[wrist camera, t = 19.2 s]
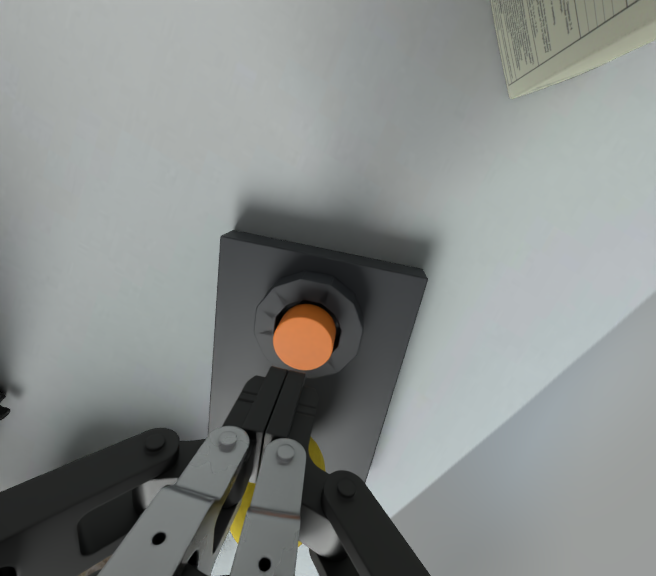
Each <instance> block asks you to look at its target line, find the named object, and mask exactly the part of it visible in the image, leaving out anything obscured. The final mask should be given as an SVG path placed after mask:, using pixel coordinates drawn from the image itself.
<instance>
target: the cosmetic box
mask: <svg viewBox="0 0 656 576" xmlns="http://www.w3.org/2000/svg"><path fill="white" fill-rule="evenodd" d="M491 6H492V12H493V18H494V24H495V29H496V34H497V40H498V45H499V51H500V56H501V61H502V66H503V71H504V75H505V80H506V85H507V89H508V94H509V97H510V98H511V99H514V98H517V97H520V96H523V95H526V94H529V93H532V92H535V91H538V90H541V89H543V88H546V87H549V86H552V85H554V84H557V83H560V82H562V81H565V80H568V79H570V78H573V77H575V76H578V75H580V74H583V73H585V72H587V71H590V70H592V69H594V68H597V67H599V66H601V65H603V64H605V63H607V62H610V61H612V60H614V59H616V58H618V57H620V56H622V55H624V54H626V53H629V52H631V51H633V50H635V49H637V48H639V47H641V46H644V45H646V44H648V43H650V42H652V41H654V40H656V0H491Z"/></svg>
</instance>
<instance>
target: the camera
mask: <svg viewBox="0 0 656 576" xmlns="http://www.w3.org/2000/svg"><path fill="white" fill-rule="evenodd" d="M5 397H6V396H5V394H4V393H3V392H1V391H0V402H1V401H2V400H3V399H4V398H5ZM10 411H11V410H10V409H9V408H7V407H2V406H1V405H0V420H2V419H4V418H5V417H6V416H7V415H8V414H9V413H10Z"/></svg>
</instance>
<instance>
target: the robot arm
mask: <svg viewBox="0 0 656 576" xmlns="http://www.w3.org/2000/svg"><path fill="white" fill-rule="evenodd" d="M305 377H306V373H301V372H297V371H292V370H289V371H288V370H287V369H283V368H278V367H274V366H271V367H270V369H269V371H268V373H267V375H266V377H261V376H257V375H255V376H254V377H253V378H251V379H250V380H248V381H247V382H246V384H245V386H244V387H243V389H242V392H241V393H240V395H239V397H238V399H237V400H236V402H235V404H234V406H233V407H232V409H231V411H230V413H229V415H228V416H227V418H226V420H225V422H224V424H223V425H222V427H219V428H217V429H215V430H214V431H212V432H211V433H210V434H209V435H208V437H207V438H205V439H202V440H195V441H180V440H179V436H178V435H177V433H176V432H174V431H173V430H171V429H167V428H155V429H151V430H148V431H145V432H143V433H141V434H138V435H136V436H134V437H131V438H129V439H126V440H124V441H122V442H119V443H117V444H114V445H112V446H110V447H107V448H105V449H102V450H100V451H98V452H95V453H93V454H90V455H88V456H86V457H83V458H81V459H79V460H76V461H74V462H71V463H69V464H67V465H64V466H62V467H59V468H57V469H55V470H52V471H50V472H47V473H45V474H43V475H40V476H38V477H35V478H33V479H31V480H28V481H26V482H23V483H21V484H19V485H16V486H14V487H12V488H9V489H7V490H4V491H2V492H0V576H78V575H80V574H81V573H83V572H84V571H86V570H88V569H89V568H91V567H92V566H94V565H96V564H97V563H99V562H101V561H102V560H104V559H105V558H107V557H109V556H110V555H112V554H113V555H112V556H111V557H110V559H109V560H108V561H107V563H106V564H105V565H104V567H103V568H102V569H100V570H97V571H95V572H93V573H91V574H90V575H88V576H211V572H212V569H213V566H214V563H215V560H216V558H217V556H218V554H219V551H220V549H221V547H222V545H223V543H224V540H225V538H226V536H227V534H228V532H229V530H230V527H231V525H232V523H233V521H234V519H235V516H236V514H237V512H238V510H239V508H240V505H241V503H242V497H243V495H244V493H245V490H246V487H247V485H248V482H251V483H255V484H256V485H255V489H254V493H253V497H252V500H251V504H250V507H249V508H248V510H247V513H246V516H245V520H244V523H243V527H242V531H241V535H240V538H239V542H238V546H237V550H236V553H235V557H234V561H233V565H232V568H231V572H230V575H222V576H295V567H296V558H297V549H298V541H300V542H301V543H303V544H304V545H306V546H307V547H309V552H310V556H311V559H312V561H313V563H314V565H315V567H316V569H317V571H318V573H319V576H430V574H429V573H428V571H427V570H426V568H425V567H424V566H423V564H422V563H421V561H420V560H419V559H418V557H417V556H416V554H415V553H414V552H413V550H412V549H411V547H410V546H409V545H408V543H407V542H406V540H405V539H404V538H403V536H402V535H401V534H400V532H399V531H398V529H397V528H396V526H395V525H394V524H393V522H392V521H391V519H390V518H389V517H388V515H387V514H386V512H385V511H384V510H383V508H382V507H381V505H380V504H379V503H378V501H377V500H376V498H375V497H374V496H373V494H372V493H371V491H370V490H369V489H368V487H367V486H366V484H365V483H364V482H363V480H362V479H361V478H360V477H359V476H357V475H356V474H354V473H352V472H350V471H346V470H338V471H334V472H332V473H331V474H329V473H327V472H325V471H323V470H322V469H320V468H319V467H318V466H316V465H315V464H314V462H313V461H312V459H311V458H310V455H309V450H308V448H309V442H310V437H311V432H312V428H313V423H314V418H315V413H316V408H317V403H318V398H319V397H318V394H317V392H316V389H315V388H311V387H307V386H304V383H305Z"/></svg>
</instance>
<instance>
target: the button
mask: <svg viewBox="0 0 656 576" xmlns="http://www.w3.org/2000/svg"><path fill="white" fill-rule="evenodd" d="M335 336H336V327H335V323H334V321H333V319H332V317H331V316H330V315H329V313H328V312H326V311H325V310H324V309H322V308H321V307H319V306H316V305H312V304H300V305H296V306H294V307H292V308H290V309H289V310H288V311H287V312H286V313H285V314H284V316H283V317H282V319H281V321H280V323H279V325H278V326H277V328H276V330H275V332H274V336H273V345H274V349H275V352H276V354H277V355H278V357H279V358H280V359H281V360H282V361H283V362H284V363H285V364H287V365H288V366H290V367H293V368H295V369H299V370H312V369H316V368H318V367H320V366H322V365H323V364H325V363H326V362H327V361H328V359H329V358H330V356H331V354H332V351H333V346H334V341H335Z"/></svg>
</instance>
